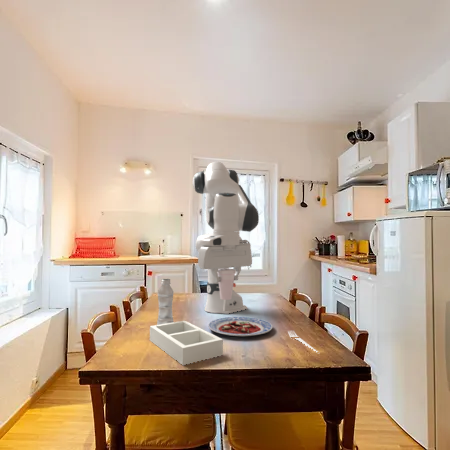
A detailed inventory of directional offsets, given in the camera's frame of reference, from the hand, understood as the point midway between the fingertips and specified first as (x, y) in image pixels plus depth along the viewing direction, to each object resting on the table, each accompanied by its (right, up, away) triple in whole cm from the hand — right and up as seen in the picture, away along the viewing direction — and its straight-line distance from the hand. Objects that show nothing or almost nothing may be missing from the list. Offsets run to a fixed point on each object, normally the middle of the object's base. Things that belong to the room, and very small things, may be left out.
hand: (226, 281), depth 105 cm
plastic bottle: (-25, -23, +21) cm, 40 cm away
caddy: (-14, -22, 0) cm, 27 cm away
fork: (+27, -24, +5) cm, 36 cm away
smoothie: (0, -6, 0) cm, 6 cm away
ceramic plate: (+6, -24, +21) cm, 32 cm away
